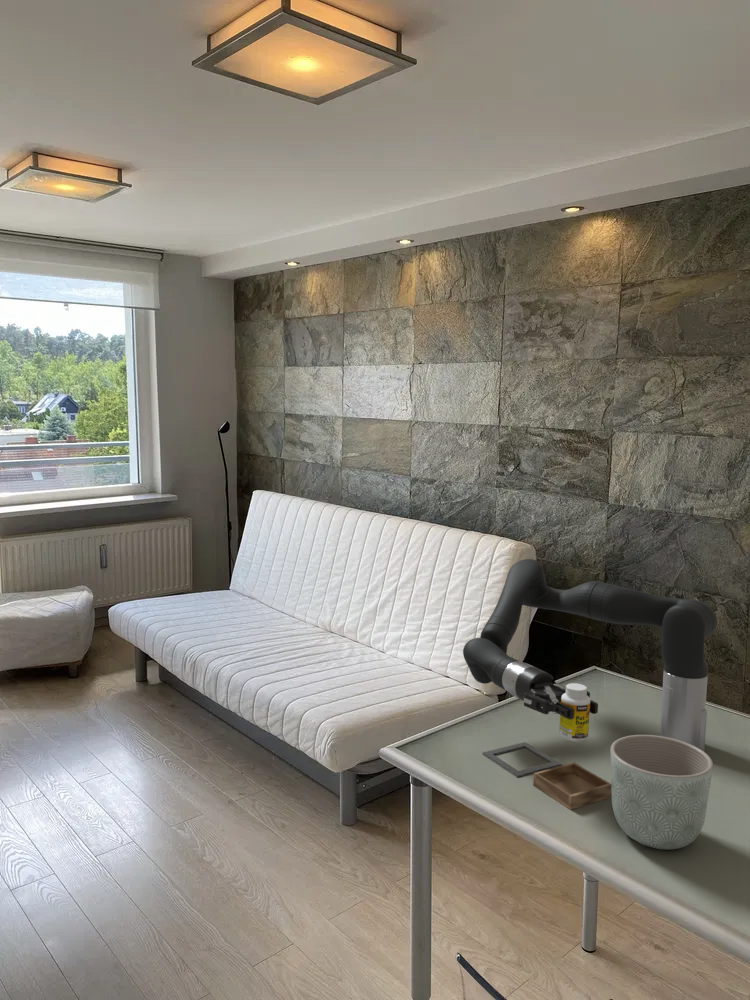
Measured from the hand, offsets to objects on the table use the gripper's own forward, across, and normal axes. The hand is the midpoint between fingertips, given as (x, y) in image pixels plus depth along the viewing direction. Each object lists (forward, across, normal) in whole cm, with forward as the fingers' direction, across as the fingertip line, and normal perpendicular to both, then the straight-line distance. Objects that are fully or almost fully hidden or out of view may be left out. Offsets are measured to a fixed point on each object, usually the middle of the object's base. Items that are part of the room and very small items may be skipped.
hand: (584, 711), depth 148 cm
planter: (+17, +2, +17) cm, 24 cm away
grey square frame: (-18, 0, +18) cm, 25 cm away
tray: (-2, 0, +17) cm, 18 cm away
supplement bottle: (-3, 0, +6) cm, 7 cm away
